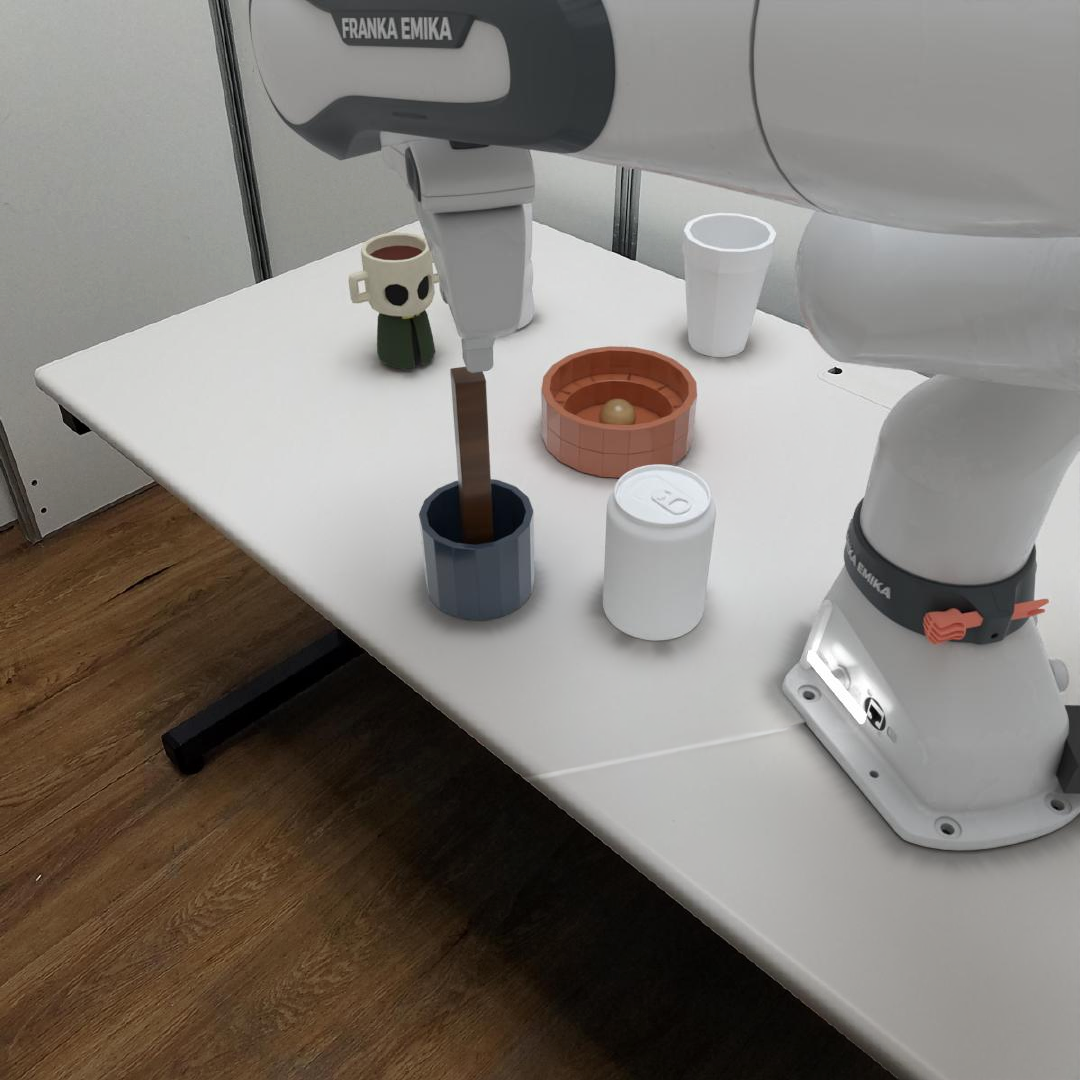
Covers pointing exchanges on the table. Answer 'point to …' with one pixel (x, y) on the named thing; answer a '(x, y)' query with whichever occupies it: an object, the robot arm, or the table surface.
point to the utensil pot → (478, 554)
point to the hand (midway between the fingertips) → (465, 331)
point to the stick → (472, 455)
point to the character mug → (398, 295)
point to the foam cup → (724, 279)
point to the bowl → (617, 374)
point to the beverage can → (657, 551)
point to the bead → (617, 413)
